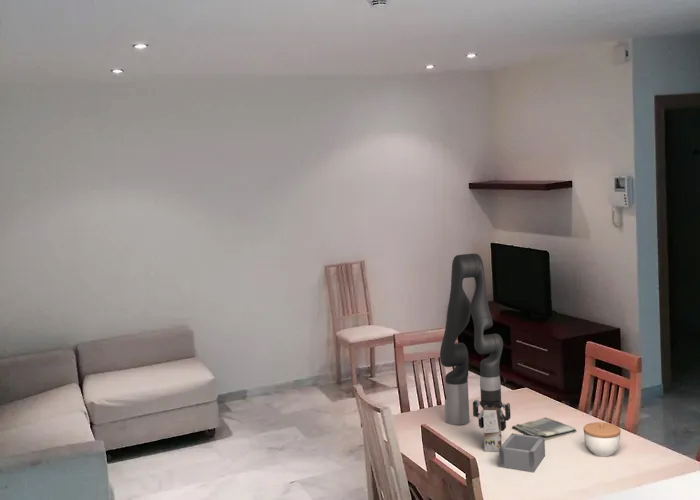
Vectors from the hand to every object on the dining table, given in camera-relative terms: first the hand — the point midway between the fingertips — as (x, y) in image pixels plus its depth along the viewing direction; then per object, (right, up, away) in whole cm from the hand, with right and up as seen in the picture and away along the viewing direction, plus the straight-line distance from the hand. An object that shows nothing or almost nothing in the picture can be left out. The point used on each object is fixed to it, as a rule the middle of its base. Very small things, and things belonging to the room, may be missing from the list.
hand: (492, 428), depth 267 cm
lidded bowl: (+38, -6, -10) cm, 40 cm away
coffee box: (0, -7, +1) cm, 7 cm away
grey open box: (+8, -8, -14) cm, 18 cm away
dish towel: (+23, -5, +14) cm, 28 cm away
